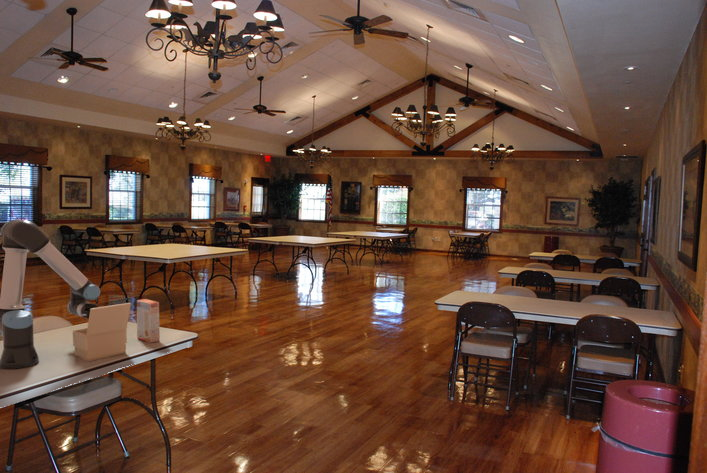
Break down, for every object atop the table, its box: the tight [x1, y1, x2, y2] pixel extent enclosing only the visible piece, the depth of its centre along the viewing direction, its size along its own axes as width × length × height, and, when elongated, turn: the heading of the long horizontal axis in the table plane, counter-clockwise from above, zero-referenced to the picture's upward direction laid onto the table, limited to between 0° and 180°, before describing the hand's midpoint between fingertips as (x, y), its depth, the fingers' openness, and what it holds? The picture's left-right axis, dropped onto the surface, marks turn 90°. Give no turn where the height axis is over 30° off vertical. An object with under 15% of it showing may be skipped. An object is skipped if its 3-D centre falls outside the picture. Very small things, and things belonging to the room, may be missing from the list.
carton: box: [72, 327, 128, 363], centre depth 262 cm, size 15×19×12 cm
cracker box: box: [136, 298, 161, 344], centre depth 289 cm, size 14×6×21 cm, turn 47°
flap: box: [87, 302, 132, 336], centre depth 255 cm, size 14×19×1 cm
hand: (112, 317), depth 257 cm, fingers closed
